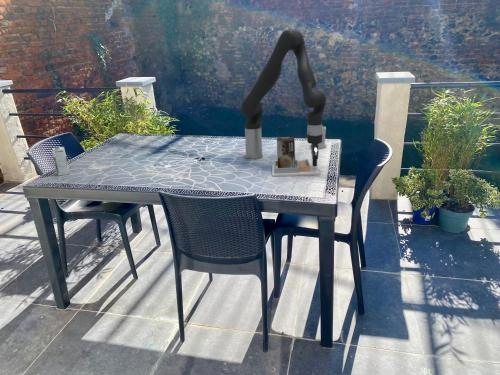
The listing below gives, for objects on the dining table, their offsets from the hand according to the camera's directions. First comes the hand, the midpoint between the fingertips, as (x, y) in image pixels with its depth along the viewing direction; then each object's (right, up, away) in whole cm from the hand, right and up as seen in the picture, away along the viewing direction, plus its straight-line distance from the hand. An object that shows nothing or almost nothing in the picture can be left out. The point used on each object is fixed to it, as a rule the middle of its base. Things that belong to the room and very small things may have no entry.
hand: (314, 165), depth 204 cm
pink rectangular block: (-5, -1, +1) cm, 6 cm away
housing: (-10, -2, +2) cm, 10 cm away
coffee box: (-14, -2, +2) cm, 15 cm away
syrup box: (-136, -4, +16) cm, 137 cm away
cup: (+8, +13, +37) cm, 40 cm away
